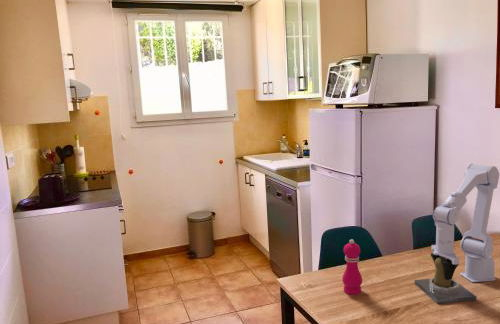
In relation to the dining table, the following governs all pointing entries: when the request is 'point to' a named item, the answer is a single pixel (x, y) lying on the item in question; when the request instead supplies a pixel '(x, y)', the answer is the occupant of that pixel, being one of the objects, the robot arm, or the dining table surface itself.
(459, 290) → the plate
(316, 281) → the dining table surface
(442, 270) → the cork
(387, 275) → the dining table surface
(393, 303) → the dining table surface
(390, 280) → the dining table surface
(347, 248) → the pepper mill
